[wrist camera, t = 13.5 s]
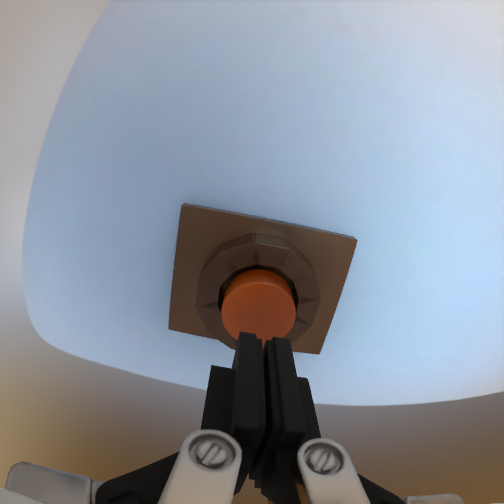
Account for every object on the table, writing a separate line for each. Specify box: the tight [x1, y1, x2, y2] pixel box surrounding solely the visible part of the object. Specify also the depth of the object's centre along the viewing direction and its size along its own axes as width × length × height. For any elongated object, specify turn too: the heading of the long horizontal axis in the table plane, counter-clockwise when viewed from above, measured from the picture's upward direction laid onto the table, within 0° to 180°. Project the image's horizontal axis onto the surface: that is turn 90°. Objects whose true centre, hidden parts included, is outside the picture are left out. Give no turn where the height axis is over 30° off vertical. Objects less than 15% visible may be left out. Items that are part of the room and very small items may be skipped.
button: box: [221, 269, 296, 345], centre depth 15 cm, size 4×4×2 cm
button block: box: [168, 203, 357, 354], centre depth 17 cm, size 10×8×2 cm
